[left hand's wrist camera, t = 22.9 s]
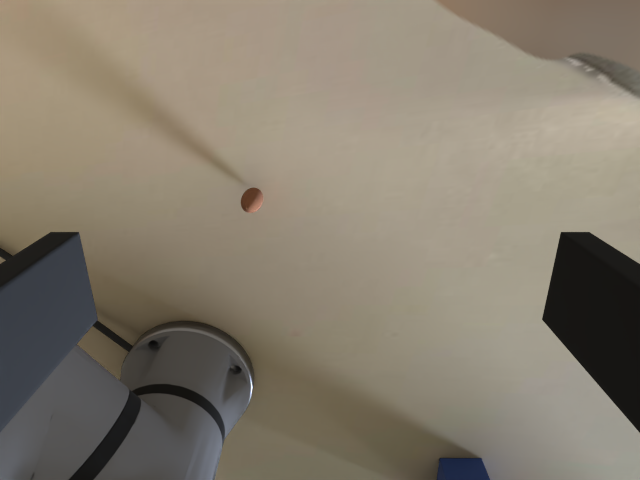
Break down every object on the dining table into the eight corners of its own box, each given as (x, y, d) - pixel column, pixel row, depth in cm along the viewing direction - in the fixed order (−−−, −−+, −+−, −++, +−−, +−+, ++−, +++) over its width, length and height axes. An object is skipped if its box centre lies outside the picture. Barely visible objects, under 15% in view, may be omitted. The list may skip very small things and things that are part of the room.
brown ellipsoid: (254, 206, 46) (246, 222, 41) (241, 190, 45) (232, 205, 41) (269, 195, 45) (263, 210, 41) (257, 179, 45) (250, 193, 40)
